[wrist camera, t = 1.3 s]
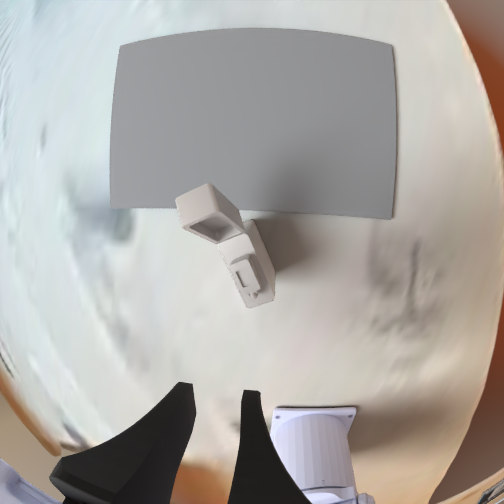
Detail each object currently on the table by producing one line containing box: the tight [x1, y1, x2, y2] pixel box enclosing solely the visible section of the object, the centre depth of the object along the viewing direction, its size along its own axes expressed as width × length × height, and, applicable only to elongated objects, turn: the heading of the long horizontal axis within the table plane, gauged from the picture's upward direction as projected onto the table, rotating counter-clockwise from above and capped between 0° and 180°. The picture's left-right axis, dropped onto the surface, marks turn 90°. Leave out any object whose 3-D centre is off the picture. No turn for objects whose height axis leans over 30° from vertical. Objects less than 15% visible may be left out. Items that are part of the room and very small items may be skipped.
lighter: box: [175, 183, 275, 308], centre depth 15 cm, size 7×2×8 cm, turn 23°
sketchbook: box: [477, 479, 504, 504], centre depth 35 cm, size 22×30×2 cm
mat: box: [110, 28, 396, 220], centre depth 17 cm, size 13×20×1 cm, turn 88°
